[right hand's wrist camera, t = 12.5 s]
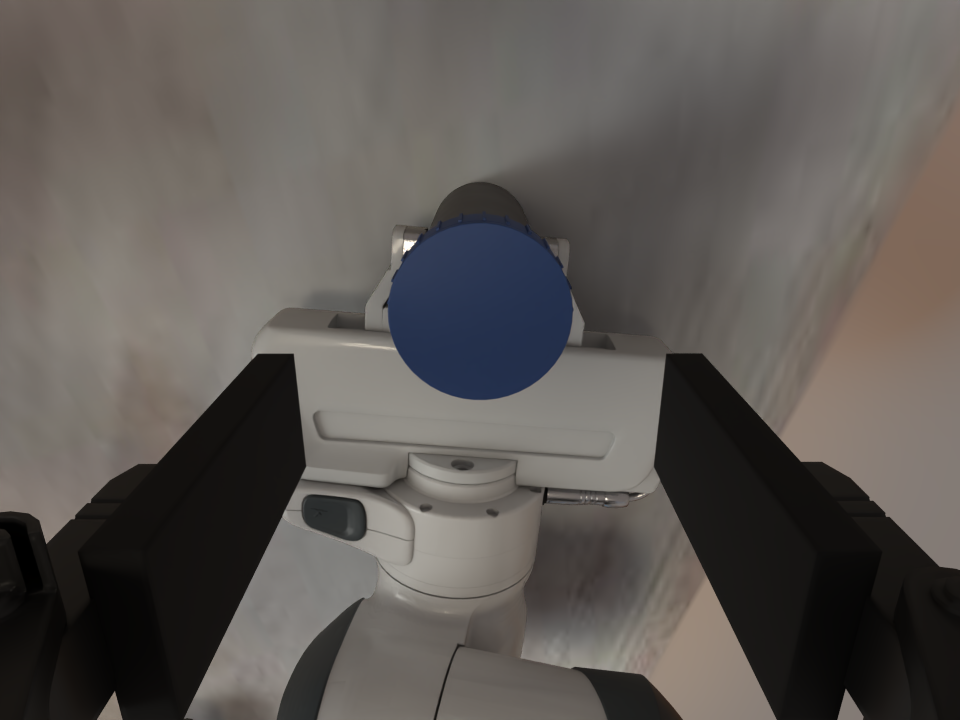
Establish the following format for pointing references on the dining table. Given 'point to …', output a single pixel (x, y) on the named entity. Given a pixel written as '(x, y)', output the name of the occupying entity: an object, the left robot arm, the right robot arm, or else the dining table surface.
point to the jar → (479, 203)
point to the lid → (480, 307)
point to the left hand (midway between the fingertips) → (480, 233)
